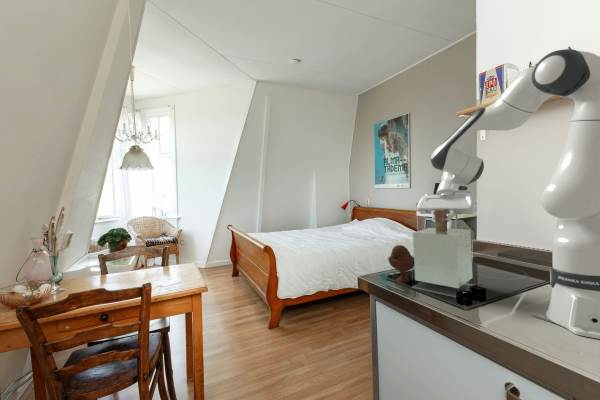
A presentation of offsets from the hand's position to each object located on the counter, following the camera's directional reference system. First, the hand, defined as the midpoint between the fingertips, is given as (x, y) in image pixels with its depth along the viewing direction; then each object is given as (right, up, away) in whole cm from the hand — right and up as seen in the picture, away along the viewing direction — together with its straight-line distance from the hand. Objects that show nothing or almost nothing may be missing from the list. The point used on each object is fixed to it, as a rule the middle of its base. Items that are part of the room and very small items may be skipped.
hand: (440, 221), depth 104 cm
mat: (+2, -25, +1) cm, 25 cm away
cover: (+2, -22, +1) cm, 22 cm away
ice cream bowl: (-10, -26, +11) cm, 30 cm away
